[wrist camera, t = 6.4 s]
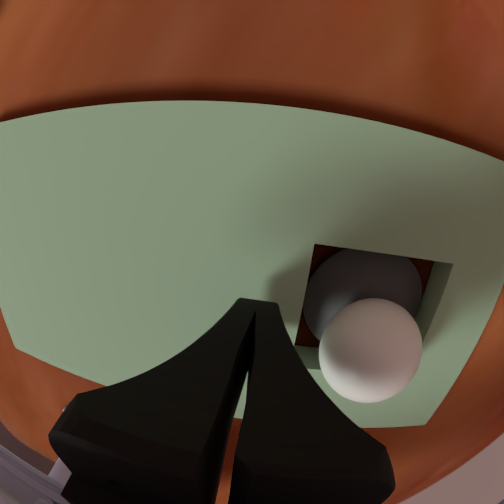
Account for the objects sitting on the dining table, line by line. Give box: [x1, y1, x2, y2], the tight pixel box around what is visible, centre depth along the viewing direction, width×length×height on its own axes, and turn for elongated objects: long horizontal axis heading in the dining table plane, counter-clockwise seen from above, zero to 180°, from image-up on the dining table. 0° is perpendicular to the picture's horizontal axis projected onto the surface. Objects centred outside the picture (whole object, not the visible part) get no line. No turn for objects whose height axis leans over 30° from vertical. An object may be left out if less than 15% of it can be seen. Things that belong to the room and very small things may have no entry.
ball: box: [319, 298, 422, 403], centre depth 10 cm, size 4×4×4 cm
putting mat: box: [0, 101, 504, 428], centre depth 12 cm, size 14×26×2 cm, turn 85°
